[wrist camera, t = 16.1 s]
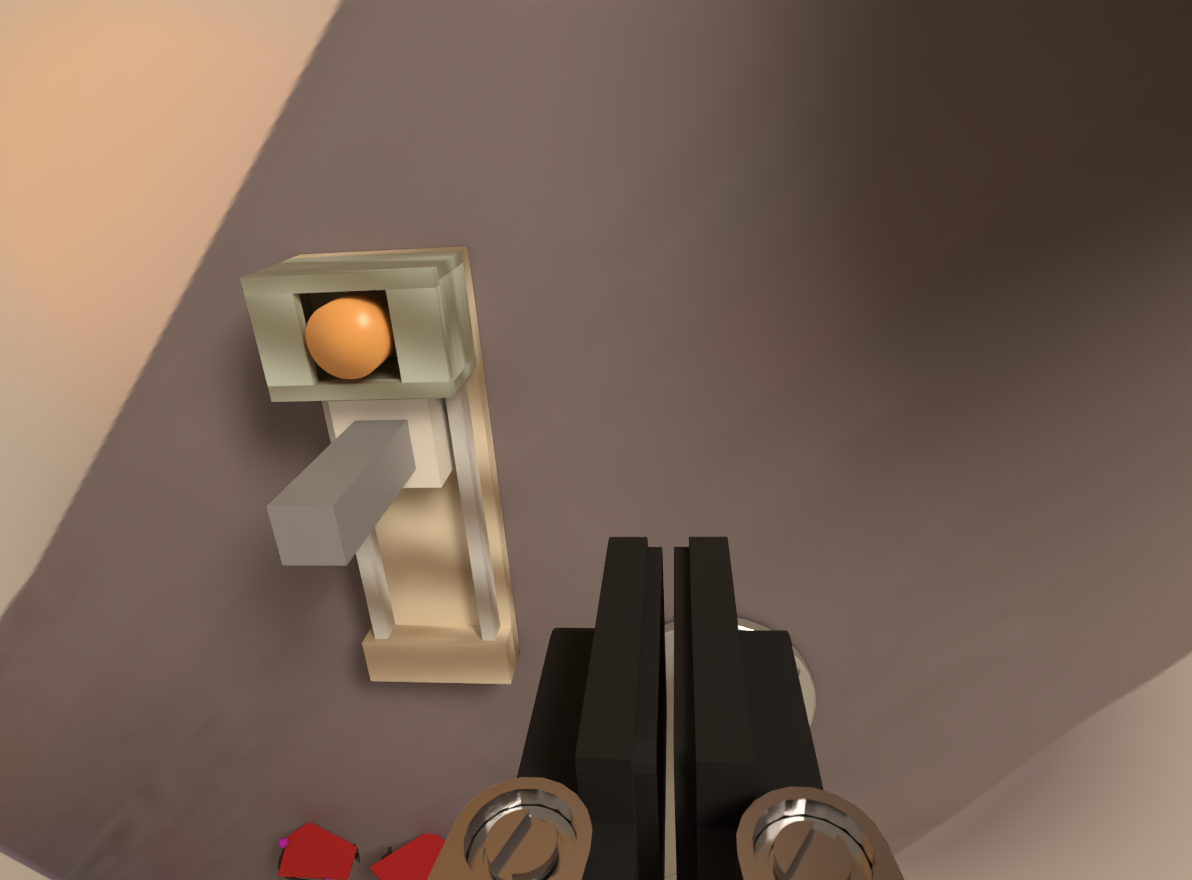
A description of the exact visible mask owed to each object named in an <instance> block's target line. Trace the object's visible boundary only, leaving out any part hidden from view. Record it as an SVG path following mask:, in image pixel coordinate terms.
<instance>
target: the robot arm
mask: <svg viewBox="0 0 1192 880" xmlns="http://www.w3.org/2000/svg"><path fill="white" fill-rule="evenodd" d="M815 708H816V699H815V689H814V685H813V681H812V677H811V674H810V671H809V669H808V667H807V665H806V663H805V661H804V659H803V658H802V657H801V655H800V654H799V653H798V651H797V650H796V649H795V647H793V646H792V643H791V639H790V636H789V633H788V632H787V631H772V630H770V629H769V628H767V627H765V626H762V625H760V624H757V623H754V622H752V621H749V620H745V619H740V618H737V612H736V603H735V595H734V587H733V579H732V570H731V562H730V554H729V546H728V538H727V537H689V547H674V622H670V623H668V624H666V625H665V621H664V588H663V555H662V547H648V540H647V537H610V538H609V541H608V548H607V554H606V560H605V567H604V573H603V580H602V586H601V593H600V599H599V606H598V612H597V618H596V625H595V628H554V630H553V631H552V634H551V637H550V641H549V645H548V649H547V653H546V657H545V662H544V666H543V670H542V674H541V679H540V683H539V687H538V691H537V695H536V700H535V704H534V708H533V712H532V716H531V721H530V725H529V729H528V733H527V738H526V742H525V746H524V750H523V754H522V759H521V763H520V767H519V771H518V776H517V778H516V779H512V780H507V781H503V782H500V783H498V784H496V785H494V786H492V787H490V788H488V789H486V790H484V791H482V792H481V793H480V794H479V795H478V796H477V797H475V798H474V799H473V800H472V801H471V802H470V803H468V804H467V805H466V806H465V808H464V809H463V811H462V812H461V814H460V815H459V817H458V818H457V820H456V821H455V823H454V825H453V827H452V829H451V831H450V833H449V835H448V837H447V839H446V841H445V843H444V845H443V848H442V850H441V852H440V854H439V856H438V858H437V860H436V862H435V864H434V866H433V868H432V870H431V873H430V875H429V877H428V878H427V879H426V880H904V877H903V875H902V873H901V871H900V869H899V867H898V864H897V862H896V860H895V858H894V856H893V853H892V851H891V849H890V847H889V845H888V842H887V841H886V839H885V838H884V836H883V835H882V833H881V832H880V830H879V828H878V827H877V825H876V824H875V822H874V821H873V820H872V819H870V818H869V817H868V816H867V815H866V814H865V813H864V812H863V811H862V810H861V809H860V808H858V807H857V806H856V805H854V804H852V803H851V802H849V801H847V800H845V799H844V798H842V797H840V796H838V795H836V794H834V793H830V792H827V791H824V790H823V786H822V781H821V777H820V772H819V768H818V763H817V758H816V754H815V749H814V745H813V740H812V735H811V731H810V726H811V724H812V722H813V718H814V713H815Z"/></svg>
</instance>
